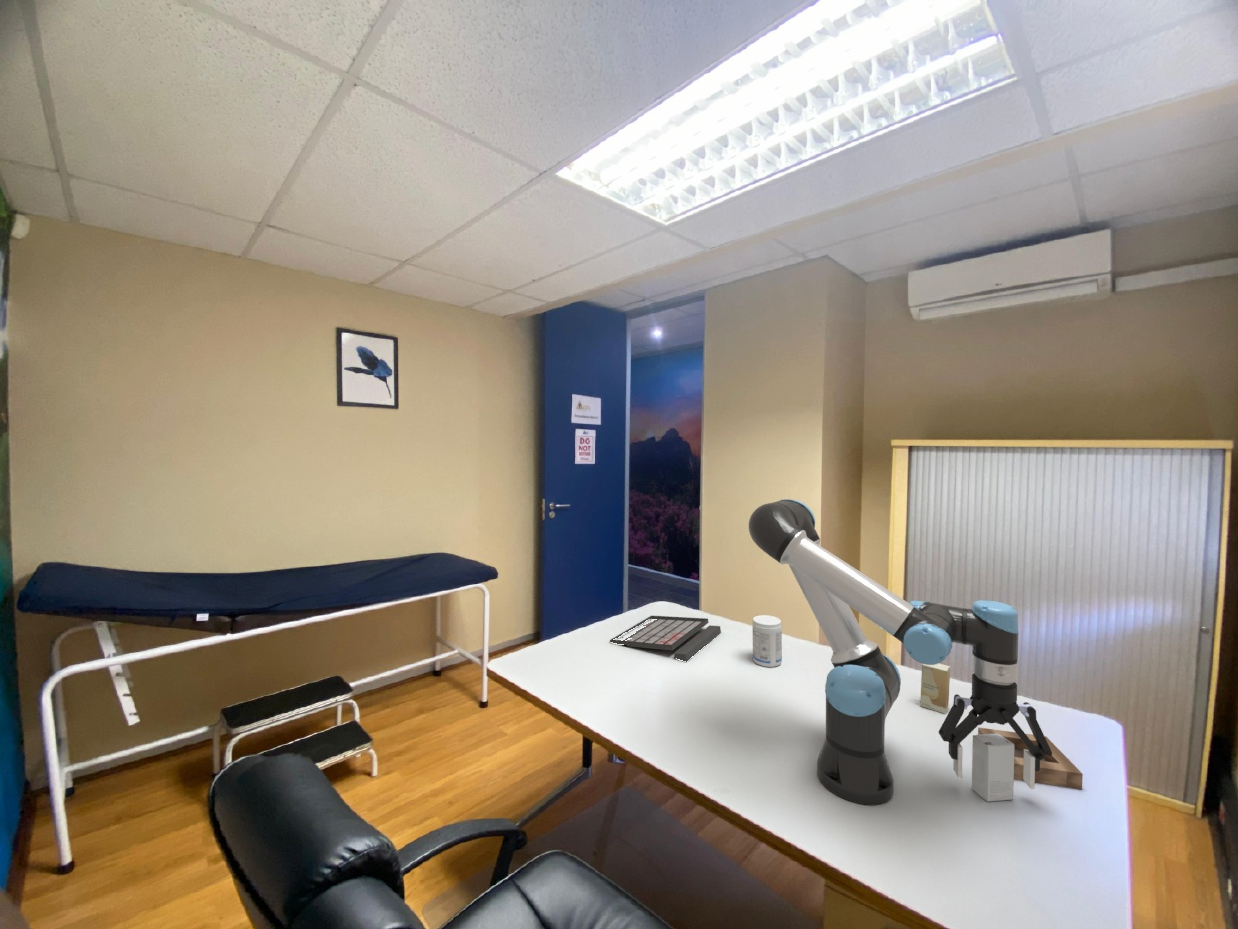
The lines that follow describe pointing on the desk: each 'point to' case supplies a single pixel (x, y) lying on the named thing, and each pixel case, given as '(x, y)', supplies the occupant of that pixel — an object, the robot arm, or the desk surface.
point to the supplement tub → (767, 641)
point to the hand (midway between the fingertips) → (992, 779)
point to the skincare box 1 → (935, 687)
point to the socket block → (1042, 762)
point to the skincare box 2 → (993, 767)
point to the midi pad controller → (672, 635)
